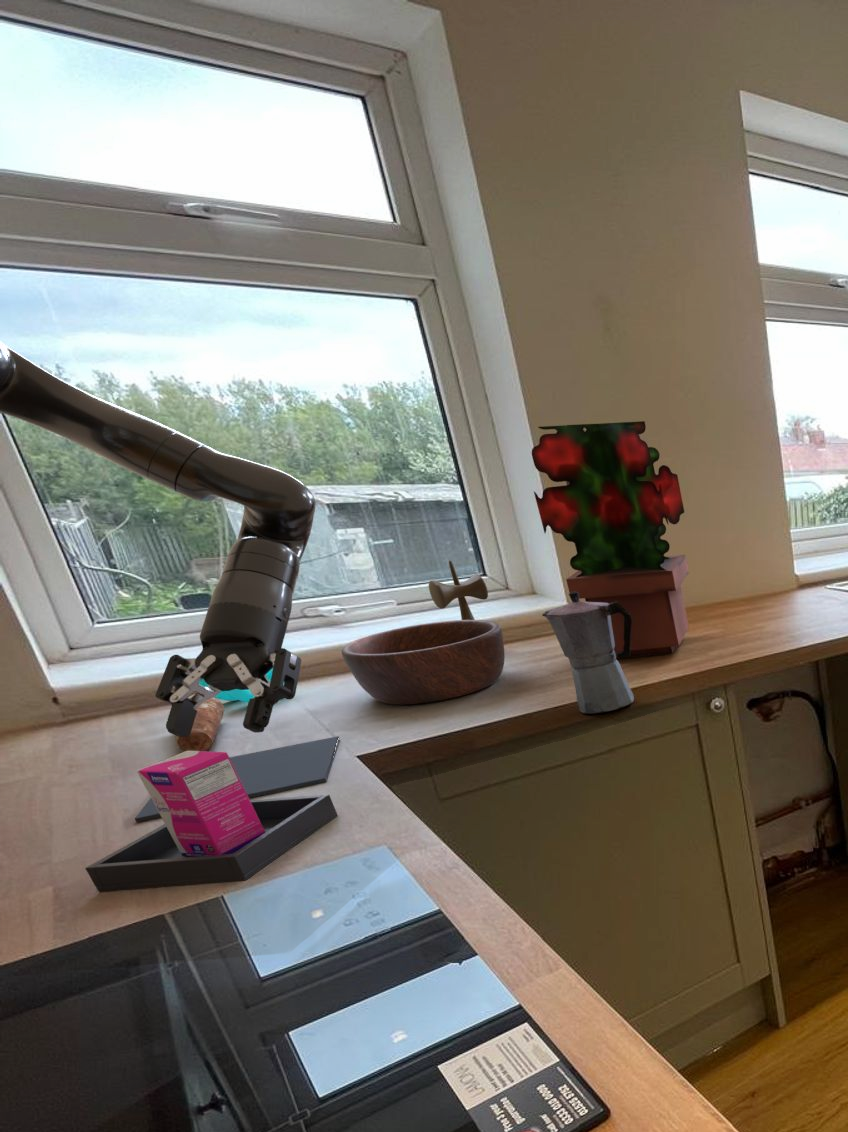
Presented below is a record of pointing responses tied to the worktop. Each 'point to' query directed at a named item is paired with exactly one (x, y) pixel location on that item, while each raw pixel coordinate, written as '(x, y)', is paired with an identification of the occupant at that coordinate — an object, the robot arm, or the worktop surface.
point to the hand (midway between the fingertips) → (215, 732)
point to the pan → (164, 865)
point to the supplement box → (202, 803)
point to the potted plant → (617, 527)
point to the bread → (203, 726)
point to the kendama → (458, 592)
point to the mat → (275, 770)
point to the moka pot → (593, 652)
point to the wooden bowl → (427, 661)
